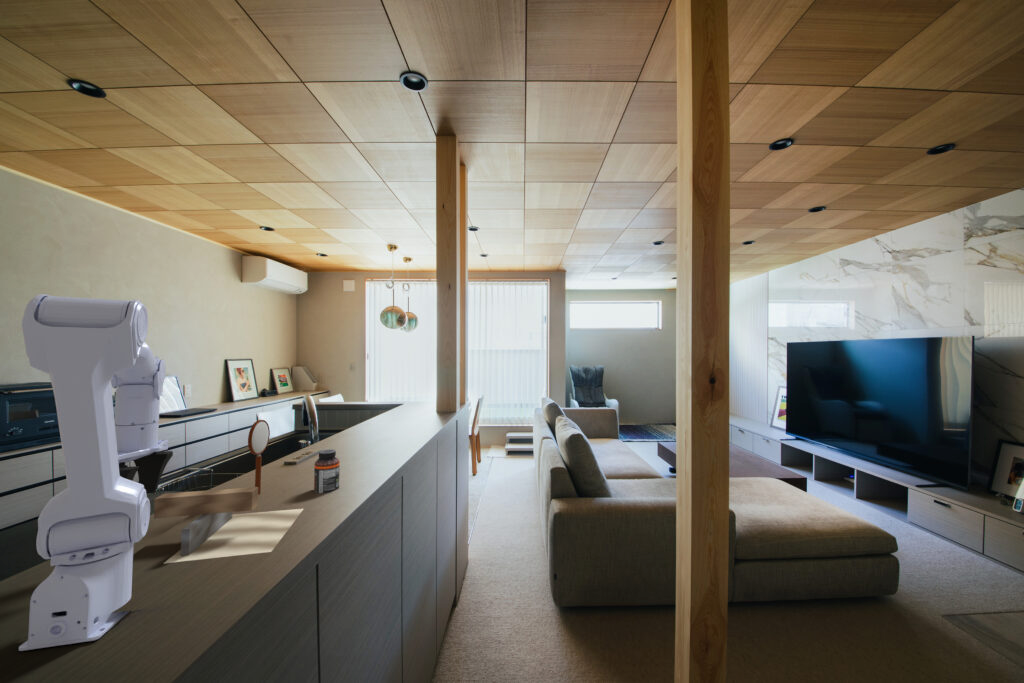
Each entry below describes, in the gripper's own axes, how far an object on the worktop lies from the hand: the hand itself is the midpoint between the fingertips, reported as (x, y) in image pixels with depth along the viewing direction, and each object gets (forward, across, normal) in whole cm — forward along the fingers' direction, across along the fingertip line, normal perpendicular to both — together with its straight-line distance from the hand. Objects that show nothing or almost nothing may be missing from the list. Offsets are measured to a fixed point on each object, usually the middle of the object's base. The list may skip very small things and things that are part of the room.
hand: (133, 500), depth 68 cm
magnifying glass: (+11, +27, -10) cm, 31 cm away
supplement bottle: (+11, +27, -26) cm, 39 cm away
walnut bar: (+4, +4, -10) cm, 11 cm away
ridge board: (+10, +4, -16) cm, 19 cm away
